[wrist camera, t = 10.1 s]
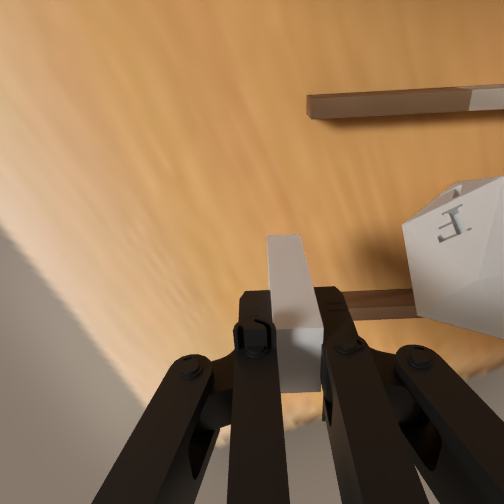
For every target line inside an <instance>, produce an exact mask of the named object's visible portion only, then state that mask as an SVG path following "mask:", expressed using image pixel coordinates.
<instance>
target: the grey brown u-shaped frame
mask: <svg viewBox="0 0 504 504" xmlns="http://www.w3.org/2000/svg"><path fill="white" fill-rule="evenodd" d="M495 109H504V84H499V85H481V86H463V87H445V88H427V89H409V90H391V91H374V92H356V93H338V94H320V95H307V115H308V116H309V117H310V118H311V119H330V118H348V117H366V116H385V115H403V114H422V113H440V112H458V111H477V110H495ZM342 293H343V295H344V298H345V301H346V304H347V306H348V309H349V312H350V314H351V317H352V320H353V321H357V320H381V319H404V318H424V317H421V316H417V311H416V305H415V299H414V294H413V289H398V290H375V291H352V292H342Z"/></svg>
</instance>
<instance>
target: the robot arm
mask: <svg viewBox="0 0 504 504" xmlns="http://www.w3.org/2000/svg"><path fill="white" fill-rule="evenodd" d="M267 254H268V281H269V290H260V291H245V292H244V294H243V295H242V296H241V298H240V301H239V321H238V323H237V324H236V325H235V326H234V329H233V336H234V346H235V349H234V350H233V351H232V352H231V353H230V354H229V355H227V356H226V357H224V358H221V359H218V360H215V361H210V360H209V359H208V358H207V357H205V356H202V355H199V354H190V355H187V356H183V357H181V358H179V359H178V360H176V361H175V362H174V363H173V364H172V365H171V366H170V368H169V370H168V372H167V373H166V375H165V377H164V379H163V380H162V382H161V384H160V385H159V387H158V389H157V391H156V392H155V394H154V396H153V398H152V399H151V401H150V403H149V405H148V406H147V408H146V410H145V411H144V413H143V415H142V417H141V418H140V420H139V422H138V424H137V425H136V427H135V429H134V431H133V433H132V434H131V436H130V437H129V439H128V441H127V443H126V444H125V446H124V448H123V450H122V451H121V453H120V455H119V457H118V458H117V460H116V462H115V463H114V465H113V467H112V469H111V471H110V472H109V474H108V476H107V477H106V479H105V481H104V483H103V484H102V486H101V488H100V489H99V491H98V493H97V495H96V496H95V498H94V500H93V502H92V503H91V504H194V502H195V500H196V497H197V494H198V491H199V488H200V485H201V483H202V480H203V477H204V474H205V471H206V468H207V465H208V463H209V460H210V457H211V454H212V451H213V449H214V446H215V443H216V440H217V438H218V435H219V432H220V428H221V427H224V426H227V425H230V424H231V434H230V454H229V473H228V490H227V492H228V493H227V504H290V498H289V487H288V474H287V463H286V451H285V439H284V427H283V416H282V404H281V393H299V392H321V384H322V389H323V413H322V421H326V424H327V429H328V434H329V439H330V444H331V449H332V455H333V460H334V465H335V470H336V475H337V481H338V486H339V491H340V496H341V501H342V504H429V502H428V499H427V497H426V494H425V491H424V489H423V486H422V483H421V481H420V478H419V476H418V473H417V471H416V468H417V469H418V471H419V472H420V474H421V475H422V477H423V479H424V480H425V481H426V483H427V485H428V486H429V488H430V489H431V491H432V492H433V494H434V495H435V497H436V499H437V500H438V502H439V503H440V504H504V422H503V421H502V420H501V419H500V418H499V417H498V416H497V415H496V414H495V413H494V412H493V410H492V409H491V408H490V407H489V406H488V405H487V404H486V403H485V402H484V401H483V400H482V399H481V398H480V397H479V396H478V395H477V394H476V393H475V392H474V391H473V390H472V389H471V388H470V387H469V386H468V385H467V384H466V383H465V381H464V380H463V379H462V378H461V377H460V376H459V375H458V374H457V373H456V372H455V371H454V370H453V369H452V368H451V367H450V366H449V365H448V364H447V363H446V362H445V361H444V360H443V359H442V358H441V357H440V356H439V355H438V354H437V353H436V352H434V351H433V350H431V349H429V348H427V347H424V346H420V345H405V346H403V347H401V348H399V350H398V351H397V352H396V354H391V353H386V352H381V351H377V350H375V349H372V348H370V347H369V346H368V344H367V343H366V341H365V340H364V339H362V338H361V337H360V336H358V333H357V331H356V328H355V325H354V322H353V320H352V317H351V314H350V312H349V309H348V306H347V304H346V301H345V298H344V295H343V293H342V292H341V291H339V290H338V289H337V288H336V287H335V286H332V287H313V284H312V280H311V276H310V272H309V268H308V264H307V261H306V257H305V253H304V249H303V245H302V241H301V237H300V234H293V235H272V236H267ZM415 466H416V468H415Z"/></svg>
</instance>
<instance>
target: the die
mask: <svg viewBox="0 0 504 504" xmlns="http://www.w3.org/2000/svg"><path fill="white" fill-rule="evenodd" d="M402 229H403V235H404V241H405V247H406V253H407V259H408V264H409V270H410V276H411V282H412V288H413V294H414V299H415V305H416V311H417V316H421V317H424V318H428V319H432V320H435V321H439V322H443V323H446V324H450V325H453V326H457V327H461V328H464V329H468V330H472V331H475V332H479V333H482V334H486V335H490V336H493V337H497V338H501V339H504V176H498V177H491V178H484V179H477V180H470V181H463V182H456V183H454V184H452V185H451V186H450V187H449V188H447V189H446V190H445V191H444V192H442V193H441V194H440V195H439V196H438V197H437V198H435V199H434V200H432V201H431V202H430V203H429V204H427V205H426V206H425V207H424V208H422V209H421V210H420V211H419V212H417V213H416V214H415V215H414V216H412V217H411V218H410V219H409V220H407V221H406V222H405V223H404V224H402Z"/></svg>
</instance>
